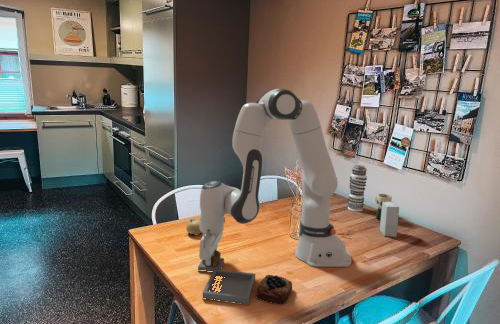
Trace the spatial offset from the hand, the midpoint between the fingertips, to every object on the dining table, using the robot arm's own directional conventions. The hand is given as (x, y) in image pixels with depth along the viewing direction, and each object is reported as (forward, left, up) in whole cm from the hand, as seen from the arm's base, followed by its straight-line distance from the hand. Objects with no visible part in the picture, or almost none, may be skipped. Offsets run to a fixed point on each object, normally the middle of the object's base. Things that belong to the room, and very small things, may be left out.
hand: (211, 259), depth 136 cm
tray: (-10, +13, -3) cm, 17 cm away
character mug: (-75, -68, -3) cm, 101 cm away
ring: (0, 0, -1) cm, 1 cm away
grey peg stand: (0, 0, -3) cm, 3 cm away
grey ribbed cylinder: (-63, -81, -3) cm, 103 cm away
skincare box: (-74, -49, -3) cm, 89 cm away
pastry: (-25, +12, -4) cm, 28 cm away
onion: (+15, -28, -4) cm, 32 cm away
